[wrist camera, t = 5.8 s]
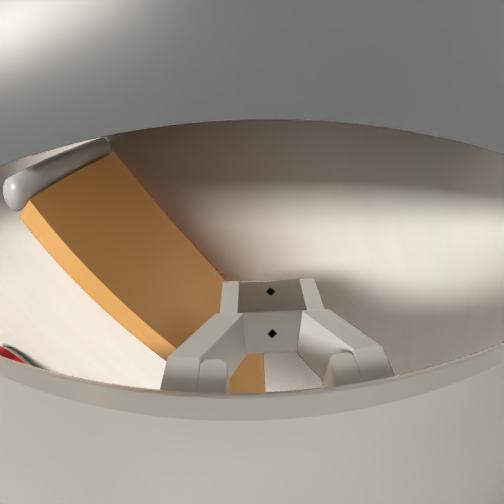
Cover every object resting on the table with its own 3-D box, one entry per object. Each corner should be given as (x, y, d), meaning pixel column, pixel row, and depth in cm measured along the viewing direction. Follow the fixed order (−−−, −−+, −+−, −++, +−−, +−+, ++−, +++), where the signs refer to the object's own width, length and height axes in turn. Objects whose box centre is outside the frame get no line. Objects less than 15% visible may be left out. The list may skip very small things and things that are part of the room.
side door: (83, 154, 9) (-5, 201, 5) (102, 133, 9) (10, 168, 4) (241, 327, 14) (241, 419, 9) (262, 316, 14) (269, 410, 9)
